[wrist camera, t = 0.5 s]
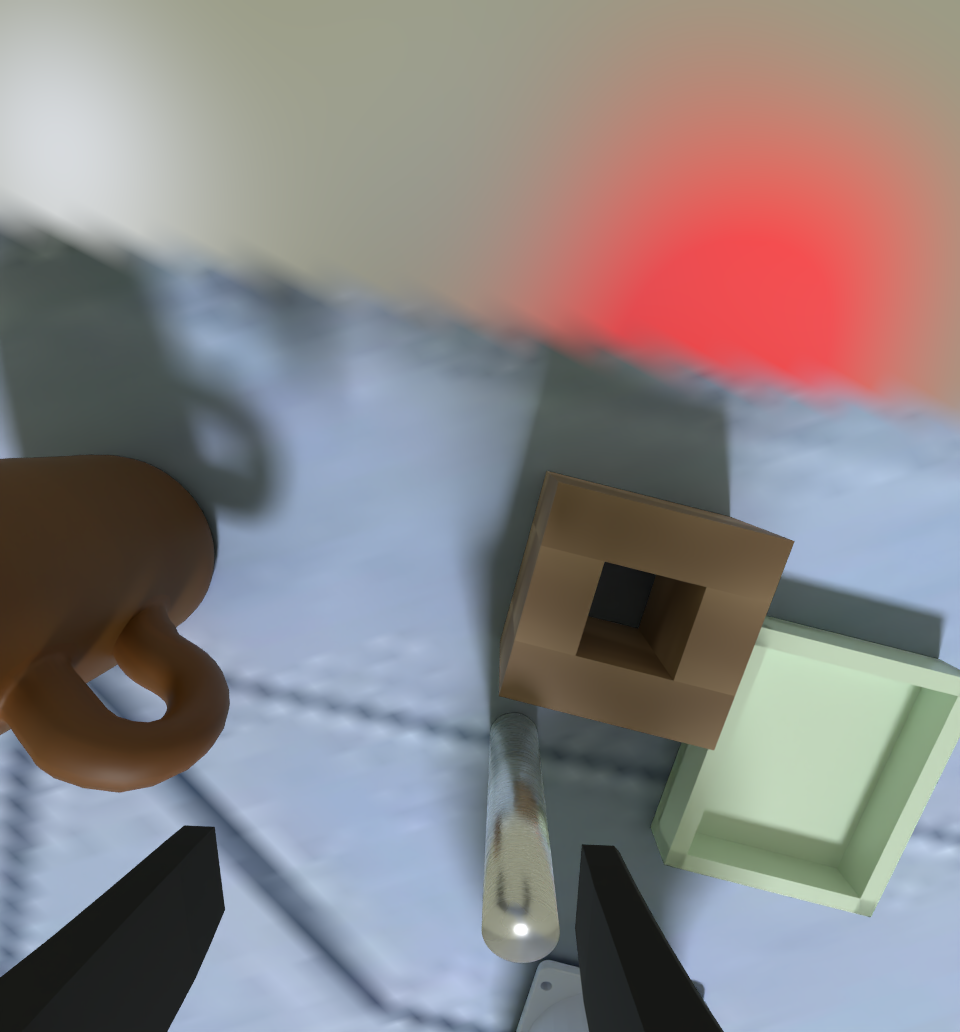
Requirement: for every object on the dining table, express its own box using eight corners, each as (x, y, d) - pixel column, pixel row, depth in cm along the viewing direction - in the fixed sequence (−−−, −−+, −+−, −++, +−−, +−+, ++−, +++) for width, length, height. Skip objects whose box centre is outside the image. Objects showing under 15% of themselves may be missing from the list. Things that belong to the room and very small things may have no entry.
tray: (838, 875, 20) (870, 917, 19) (650, 827, 20) (664, 864, 19) (939, 659, 18) (985, 683, 17) (731, 606, 19) (755, 625, 17)
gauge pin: (530, 760, 20) (547, 971, 12) (485, 748, 20) (473, 951, 12) (543, 719, 20) (569, 910, 12) (496, 707, 20) (492, 890, 12)
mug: (350, 560, 19) (205, 683, 10) (276, 709, 20) (87, 941, 11) (77, 417, 19) (-348, 405, 9) (20, 580, 20) (-399, 710, 11)
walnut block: (671, 685, 19) (714, 750, 15) (499, 642, 19) (498, 695, 15) (730, 517, 18) (794, 541, 14) (546, 470, 18) (558, 482, 14)
